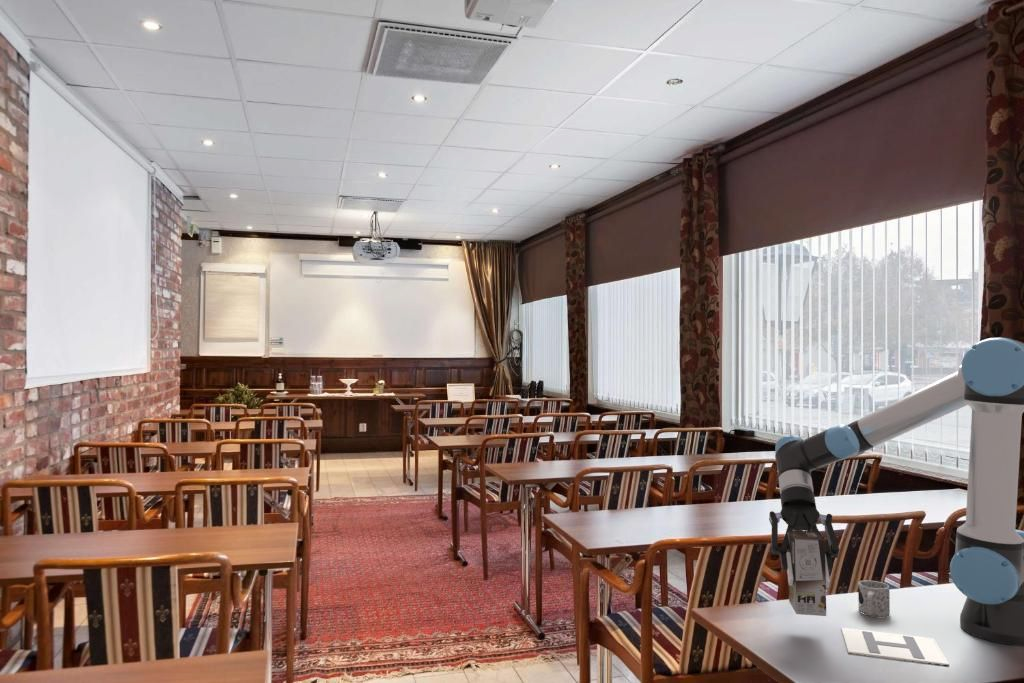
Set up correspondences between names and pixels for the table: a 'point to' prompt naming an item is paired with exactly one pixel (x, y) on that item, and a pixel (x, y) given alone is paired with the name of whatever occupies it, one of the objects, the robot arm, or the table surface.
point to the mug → (874, 598)
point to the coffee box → (807, 573)
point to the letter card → (893, 646)
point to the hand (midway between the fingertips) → (809, 583)
